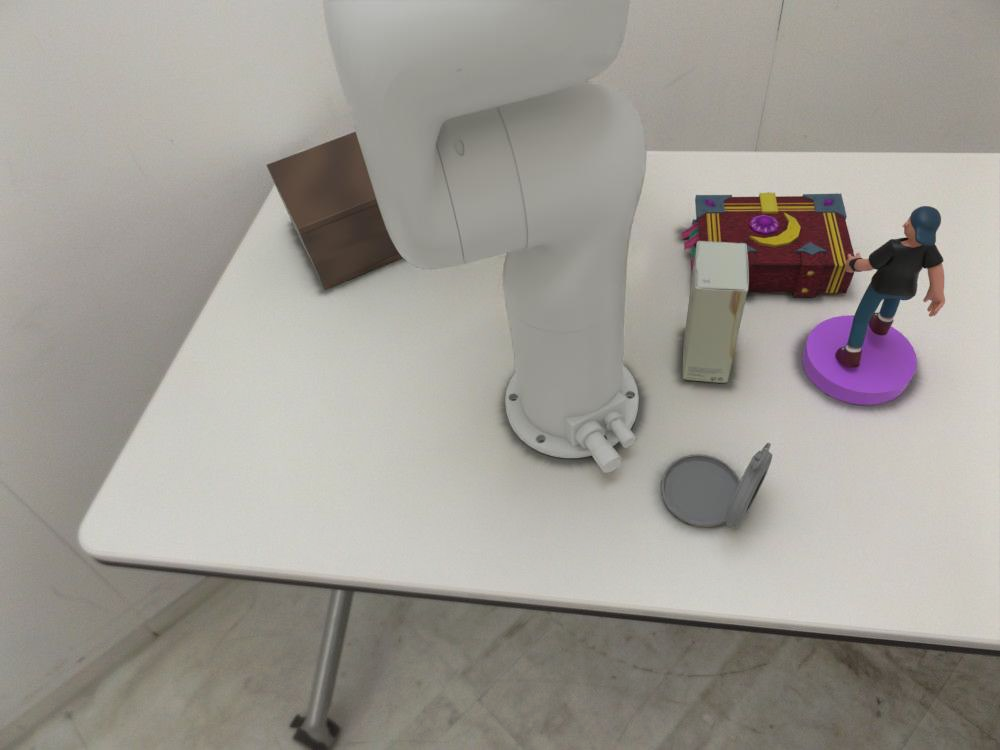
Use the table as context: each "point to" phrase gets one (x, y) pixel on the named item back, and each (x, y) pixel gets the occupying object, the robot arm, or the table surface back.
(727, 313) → the cosmetic box
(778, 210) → the decorative book
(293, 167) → the cabinet
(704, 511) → the pocket watch
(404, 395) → the table surface
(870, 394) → the figurine
